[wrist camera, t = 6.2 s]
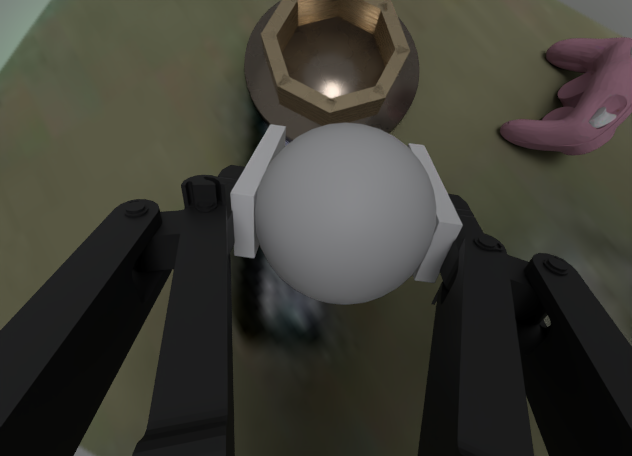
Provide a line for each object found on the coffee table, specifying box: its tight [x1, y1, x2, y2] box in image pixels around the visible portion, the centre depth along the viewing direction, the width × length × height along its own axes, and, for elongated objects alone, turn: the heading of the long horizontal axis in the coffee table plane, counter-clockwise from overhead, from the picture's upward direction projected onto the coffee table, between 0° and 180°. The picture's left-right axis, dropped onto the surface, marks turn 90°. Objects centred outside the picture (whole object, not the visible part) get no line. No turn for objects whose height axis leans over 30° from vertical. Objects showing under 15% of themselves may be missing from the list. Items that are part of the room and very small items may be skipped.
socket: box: [244, 0, 419, 142], centre depth 24 cm, size 14×14×4 cm
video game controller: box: [500, 38, 632, 155], centre depth 24 cm, size 10×5×7 cm, turn 146°
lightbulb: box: [255, 123, 436, 305], centre depth 13 cm, size 6×6×11 cm
